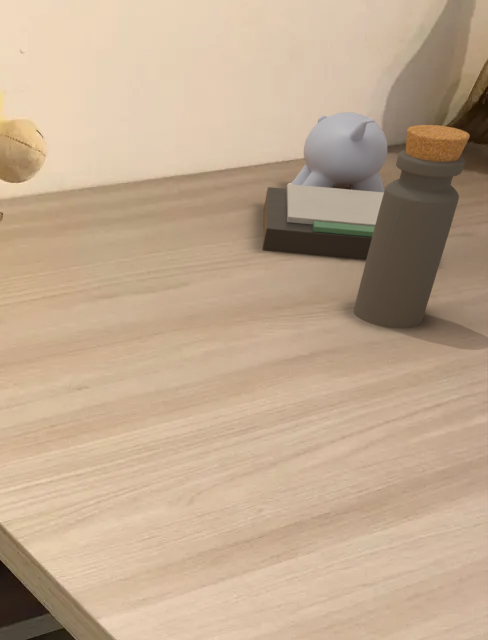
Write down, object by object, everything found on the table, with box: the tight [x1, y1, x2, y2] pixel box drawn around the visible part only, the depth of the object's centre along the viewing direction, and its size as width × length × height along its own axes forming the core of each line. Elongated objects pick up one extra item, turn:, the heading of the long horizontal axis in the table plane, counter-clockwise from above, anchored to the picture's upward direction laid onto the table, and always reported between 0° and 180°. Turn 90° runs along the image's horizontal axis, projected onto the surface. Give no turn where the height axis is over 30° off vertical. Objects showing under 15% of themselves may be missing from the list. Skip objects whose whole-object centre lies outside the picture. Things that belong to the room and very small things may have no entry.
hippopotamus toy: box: [288, 111, 388, 192], centre depth 117 cm, size 11×15×10 cm
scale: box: [261, 183, 384, 261], centre depth 107 cm, size 16×15×3 cm
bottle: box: [353, 124, 471, 329], centre depth 86 cm, size 6×6×15 cm
